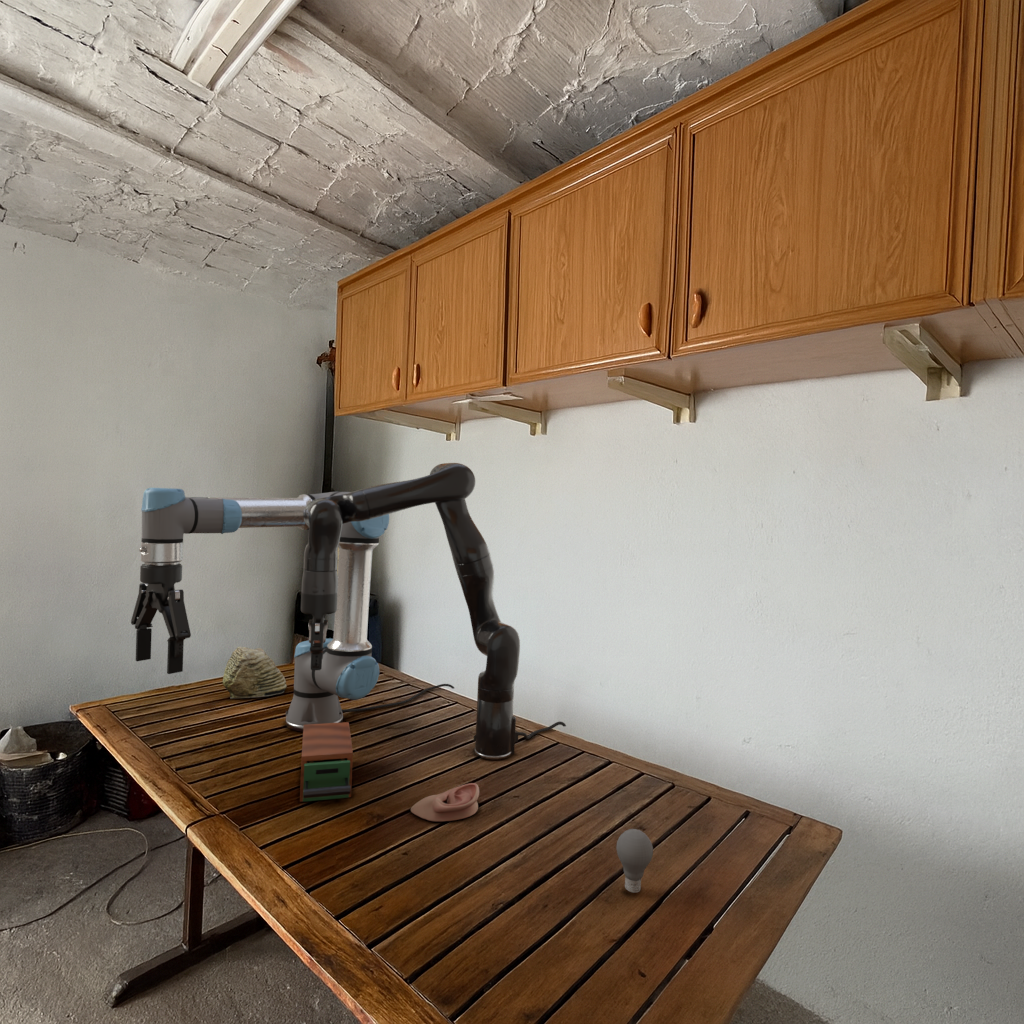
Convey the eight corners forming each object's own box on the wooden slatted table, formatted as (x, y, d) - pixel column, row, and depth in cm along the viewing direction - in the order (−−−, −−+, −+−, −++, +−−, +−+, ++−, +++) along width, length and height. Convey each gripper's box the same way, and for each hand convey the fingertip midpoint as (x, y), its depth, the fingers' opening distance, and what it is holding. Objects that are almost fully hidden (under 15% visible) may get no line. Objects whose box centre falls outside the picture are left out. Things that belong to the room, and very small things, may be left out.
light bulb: (610, 879, 108) (613, 822, 108) (644, 879, 109) (647, 822, 109) (619, 902, 102) (622, 840, 102) (655, 901, 103) (658, 840, 103)
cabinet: (351, 797, 134) (352, 752, 134) (299, 801, 131) (301, 756, 131) (347, 761, 152) (348, 721, 152) (302, 764, 149) (303, 724, 149)
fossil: (218, 695, 195) (220, 647, 195) (278, 685, 208) (279, 640, 207) (228, 703, 189) (230, 653, 188) (289, 692, 201) (290, 645, 201)
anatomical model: (405, 797, 126) (424, 773, 137) (404, 817, 126) (424, 792, 138) (469, 807, 124) (484, 782, 135) (468, 827, 124) (483, 800, 135)
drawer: (350, 811, 126) (351, 774, 126) (302, 815, 124) (303, 778, 123) (345, 763, 148) (346, 732, 148) (304, 766, 146) (305, 734, 146)
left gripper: (115, 558, 134) (112, 658, 134) (173, 570, 119) (169, 682, 120) (152, 556, 140) (149, 652, 140) (211, 567, 125) (208, 674, 126)
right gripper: (337, 595, 132) (334, 673, 132) (337, 586, 146) (334, 656, 146) (299, 595, 130) (296, 674, 130) (303, 585, 144) (300, 656, 144)
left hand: (158, 666), depth 130 cm, fingers open, 13 cm apart
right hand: (316, 664), depth 138 cm, fingers open, 8 cm apart
